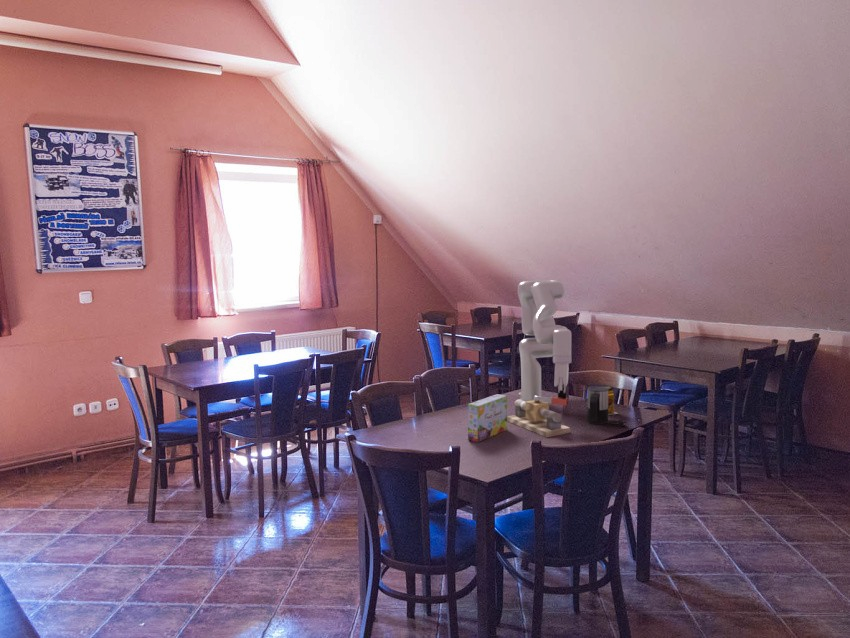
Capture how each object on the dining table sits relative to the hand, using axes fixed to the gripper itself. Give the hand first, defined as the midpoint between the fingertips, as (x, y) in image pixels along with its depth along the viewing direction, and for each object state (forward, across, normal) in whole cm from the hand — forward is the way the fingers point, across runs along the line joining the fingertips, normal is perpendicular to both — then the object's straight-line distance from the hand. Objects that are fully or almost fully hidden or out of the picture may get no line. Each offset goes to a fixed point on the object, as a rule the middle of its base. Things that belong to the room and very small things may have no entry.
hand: (562, 401), depth 267 cm
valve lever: (0, +2, -4) cm, 5 cm away
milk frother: (+11, -9, +18) cm, 23 cm away
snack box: (+11, +18, -28) cm, 35 cm away
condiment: (+12, -27, +17) cm, 34 cm away
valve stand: (+11, +1, -10) cm, 15 cm away
